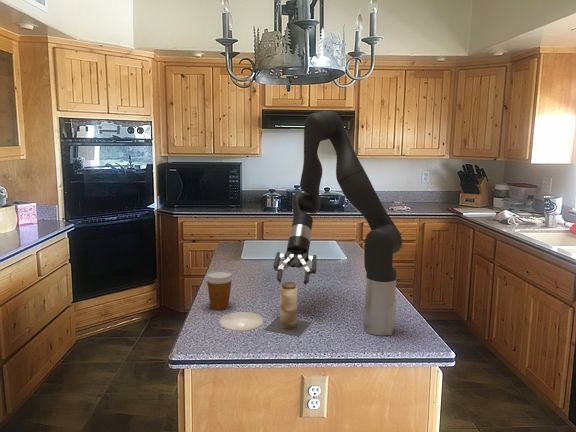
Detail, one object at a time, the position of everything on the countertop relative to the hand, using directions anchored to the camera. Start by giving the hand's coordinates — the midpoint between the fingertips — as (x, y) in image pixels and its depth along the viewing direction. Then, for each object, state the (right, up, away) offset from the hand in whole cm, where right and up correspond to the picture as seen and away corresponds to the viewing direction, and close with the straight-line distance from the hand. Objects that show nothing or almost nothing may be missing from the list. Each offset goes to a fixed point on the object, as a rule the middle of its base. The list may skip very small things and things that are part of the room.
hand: (292, 282), depth 153 cm
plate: (-16, -13, -1) cm, 21 cm away
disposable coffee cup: (-26, -11, +14) cm, 31 cm away
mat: (-1, -14, -3) cm, 14 cm away
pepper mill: (-1, -13, -3) cm, 14 cm away
